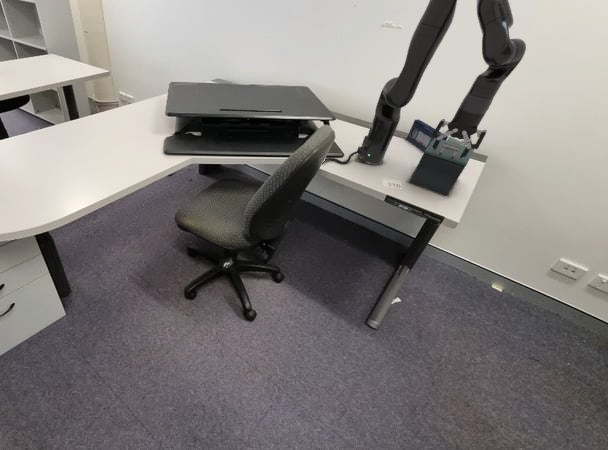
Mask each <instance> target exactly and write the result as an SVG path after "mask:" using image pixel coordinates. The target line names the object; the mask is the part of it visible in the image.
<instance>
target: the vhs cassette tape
mask: <svg viewBox="0 0 608 450" xmlns="http://www.w3.org/2000/svg"><path fill="white" fill-rule="evenodd" d="M435 129H436V128H434V127H433V126H431V125H429V124H427V123H426V122H424V121H422V120H420V119H414V121H413V122H412V125H411V127H410V130H409V132H408V134H407V136H406V140H407V141H408V142H409V143H411V144H412V145H413V146H414V147H416V148H417V149H419V150H421V151H422V152H423V153H424V152H425V150H426V149H427V147H428V146H429V145H430V144H431V142H432V141H433V140H434V138H435V137H432V134H433V132H434V131H435ZM442 133H443V132H441V131H439V132H438V134H442ZM448 138H449V136H447V137H445V138H442V140H445V141H447V140H448Z"/></svg>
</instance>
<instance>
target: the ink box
mask: <svg viewBox="0 0 608 450" xmlns="http://www.w3.org/2000/svg"><path fill="white" fill-rule="evenodd" d="M446 141H449V142H452V143H456V144H459V145H463V146H466V143H465V141H464V139H458V138H454V137H451V136H450V135H449V136H448V138H447V140H446Z"/></svg>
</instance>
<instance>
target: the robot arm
mask: <svg viewBox="0 0 608 450" xmlns="http://www.w3.org/2000/svg"><path fill="white" fill-rule="evenodd" d="M457 3H458V0H429V2H428V4H427V6H426V7H425V10H424V12H423V14H422V15H421V17H420V19H419V21H418V23H417V25H416V28H415V29H414V32H413V34H412V35H411V39H410V42H409V44H408V49H407V53H406V57H405V61H404V64H403V67H402V69H401V71H400V73H399V75H398V76H396V77H393V78H391V79H389V80H388V81H387V82H386V83H385V84H384V85H383V88H382V89H381V92H380V94H379V97H378V100H377V103H376V107H375V112H374V116H373V119H372V122H371V125H370V128H369V130H368V133H367V135H365V136H364V137H363V140H362V143H361V146H358V147H357V150H356V151H353V152H352V153H350V154H349V156H348V158H347V159H346V160H340V159H338V158H335V157H334V158H333V157H325V158H324V159H325V161H324V162H323V163H325V162H326V161H334V162H337V163H339V164H342V165H343V164H347V163H349V162H350V161H351V159H352V157H353V156H355V155H357V156H358V158H359V159H360V161H361V162H362V163H366V164H369V165H374V166H375V165H381V164H382V163H383V161H384V158H385V156H386V153H387V151H388V148H389V146H390V144H391V141H392V139H393V137H394V134H395V132H396V130H397V127H398V125H399V123H400V120H401V110H402V108H405V107H406V106H407V105H409V103H410V102H411V101H412V100H413V98H414V96H415V94H416V91H417V89H418V86H419V85H420V82H421V80H422V78H423V76H424V73H425V72H426V71H427V68H428V66H429V64H430V63H431V61H432V59H433V57H434V56H435V54H436V52H437V50H438V49H439V47H440V45H441V44H442V42H443V40H444V38H445V37H446V35H447V33H448V31H449V29H450V27H451V25H452V23H453V20H454V17H455V13H456V9H457V5H458V4H457ZM475 7H476V8H475V9H476V16H477V20H478V24H479V28H480V31H481V35H482V37H481V55H482V59H483V61H484V63H485V64H486V65H487V66H488V67H487V68H486V70H485V71H483V72H481V73H479V74H478V75H477V76H476V77H475V79H474V81H473V82H472V84H471V86H470V88H469V90H468V92H467V93H466V95H465V96H464V97H463V99H462V101H461V103H460V104H459V106H458V108H457V111H456V113H454V116H453V118H452V119H451V121H447V120H446V119H445V118H442V119H440V120H439V122H438V124H437V125H436V127H435V128H434V129H435V131H434V132H433V134H432V137H435V138H436V141H435V142H434V144H433V148H434V149H433V150H436V148H437V147H438V145H439V143H440V141H441V139H442V138H445V137H447V136H448V137H450V136H451V137H454V138H458V139H464V141H465V143H466V145H465V146H466V148H465V149H464V151H463V153H462V154H461V156H460V158H462V157H465V156H466V155H467V153H468V152H469V150H470V149H474V150H478V149H479V148H480V146H481V144H482V142H483V140H484V138H485V136H486V134H487V133H488V130H487V129H483V130H481V129H478V126H479V125H480V123H481V122H482V120H483V119H484V117H485V116H486V114H487V112H488V111H489V109H490V106H491V105H492V103H493V100H494V98H495V97H496V95H497V93H498V92H499V90H500V88H501V87H502V84H503V83H504V82H505V80H506V79H508V77H509V76H510V75H511V74H512V73H513V71H514V70H515V69H516V68H517V67H518V65H519V64H520V62H521V61H522V60H523V58H524V56H525V54H526V51H527V44H526V42H525V41H524V40H523V39H521V38H510V30H509V29H511V28H512V27H513V26H514V15H513V12H512V8H511V3H510V1H509V0H476V6H475ZM446 126H447V130H446V131H444V132H441V133H442V134H438V132H440V131H441V129H442V128H445V127H446ZM475 134H476V137H477V138H478V139H477V141H476V142H475V143H473V141H472V136H473V135H475ZM299 228H300V226H296V230H295V232H294V235H295V236H297V235H298V232H299Z"/></svg>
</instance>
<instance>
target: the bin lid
mask: <svg viewBox="0 0 608 450" xmlns="http://www.w3.org/2000/svg"><path fill="white" fill-rule="evenodd" d="M435 141H436V138H434V140H433V141H432V142H431V144H430V145H429V146H428V147H427V149H426V150H425V152H423V154H424V153H426V154H429V155H432V156H435V157H438V158H442V159H445V160H448V161H451V162H454V163H457V164H461V165H464V166H465V167H467V165H468V164H469V161H470V159H471V157H472V155H473V153H474V151H475V149H470V150H469V152H468V153H467V155H466V156H465V157H462V158H460V156H461V154H462V153H463V151H464V149H465V148H466V145H465V146H463V145H459V144H456V143H452V142H449V141H447V140H446V141H445V140H442V139H441V141H440V143H439V145H438V147H437V148H436V150H433V149H434V148H433V144H434V142H435Z"/></svg>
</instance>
